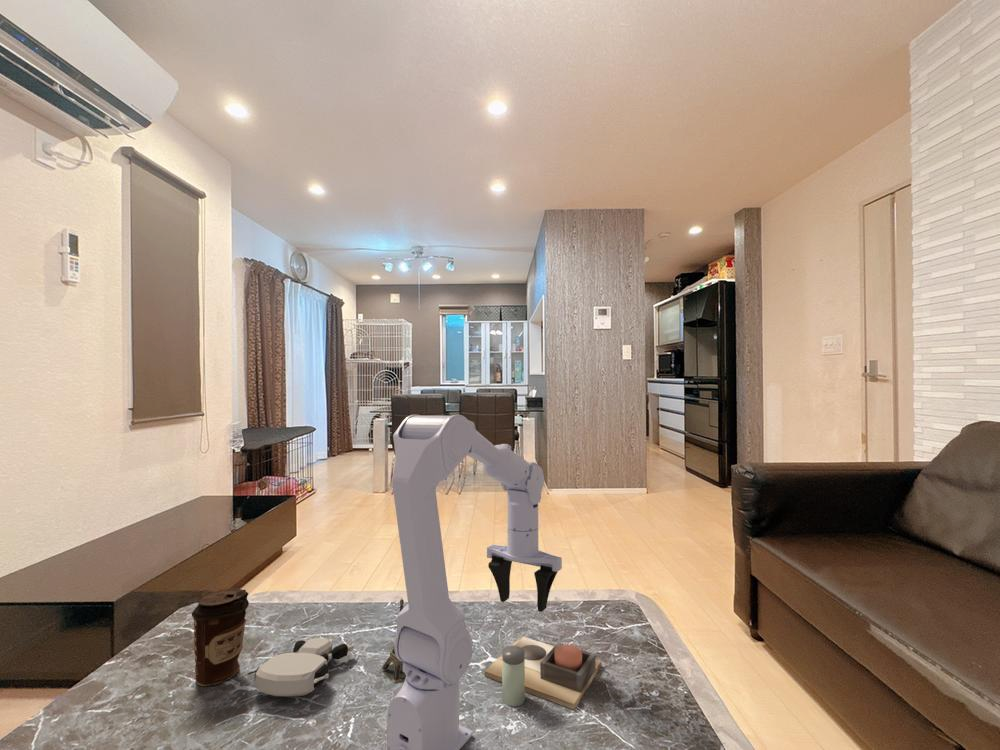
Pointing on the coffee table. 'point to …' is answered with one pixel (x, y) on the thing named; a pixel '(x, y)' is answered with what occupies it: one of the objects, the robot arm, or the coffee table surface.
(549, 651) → the wooden base tray
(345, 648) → the robot toy
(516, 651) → the green capped bottle
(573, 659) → the button
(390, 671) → the eiffel tower figurine
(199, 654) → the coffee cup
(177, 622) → the coffee table surface
